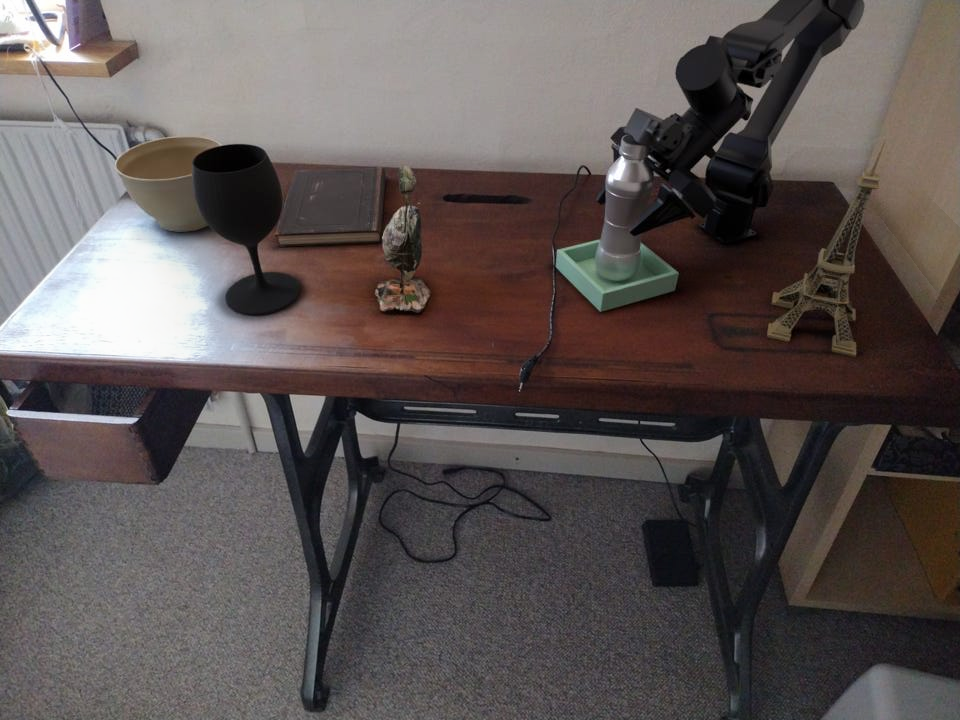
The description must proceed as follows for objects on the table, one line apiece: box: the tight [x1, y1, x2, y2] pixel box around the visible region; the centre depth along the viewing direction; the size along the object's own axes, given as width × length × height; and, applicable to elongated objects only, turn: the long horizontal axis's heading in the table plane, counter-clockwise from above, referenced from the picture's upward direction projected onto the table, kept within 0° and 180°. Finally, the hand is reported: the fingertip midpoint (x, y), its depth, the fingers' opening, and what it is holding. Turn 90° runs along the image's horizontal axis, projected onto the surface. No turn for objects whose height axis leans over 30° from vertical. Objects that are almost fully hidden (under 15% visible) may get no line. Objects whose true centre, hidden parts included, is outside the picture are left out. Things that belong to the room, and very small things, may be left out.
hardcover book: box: [274, 166, 386, 248], centre depth 112 cm, size 16×23×2 cm
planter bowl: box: [114, 135, 223, 233], centre depth 107 cm, size 16×16×11 cm
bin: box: [555, 239, 680, 313], centre depth 96 cm, size 12×12×3 cm
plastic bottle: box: [595, 134, 655, 281], centre depth 91 cm, size 6×7×20 cm
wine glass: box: [192, 143, 302, 317], centre depth 88 cm, size 10×10×20 cm
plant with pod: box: [374, 164, 431, 314], centre depth 88 cm, size 8×11×20 cm
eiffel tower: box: [766, 139, 886, 358], centre depth 81 cm, size 11×11×25 cm
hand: (614, 217), depth 90 cm, fingers open, 9 cm apart
